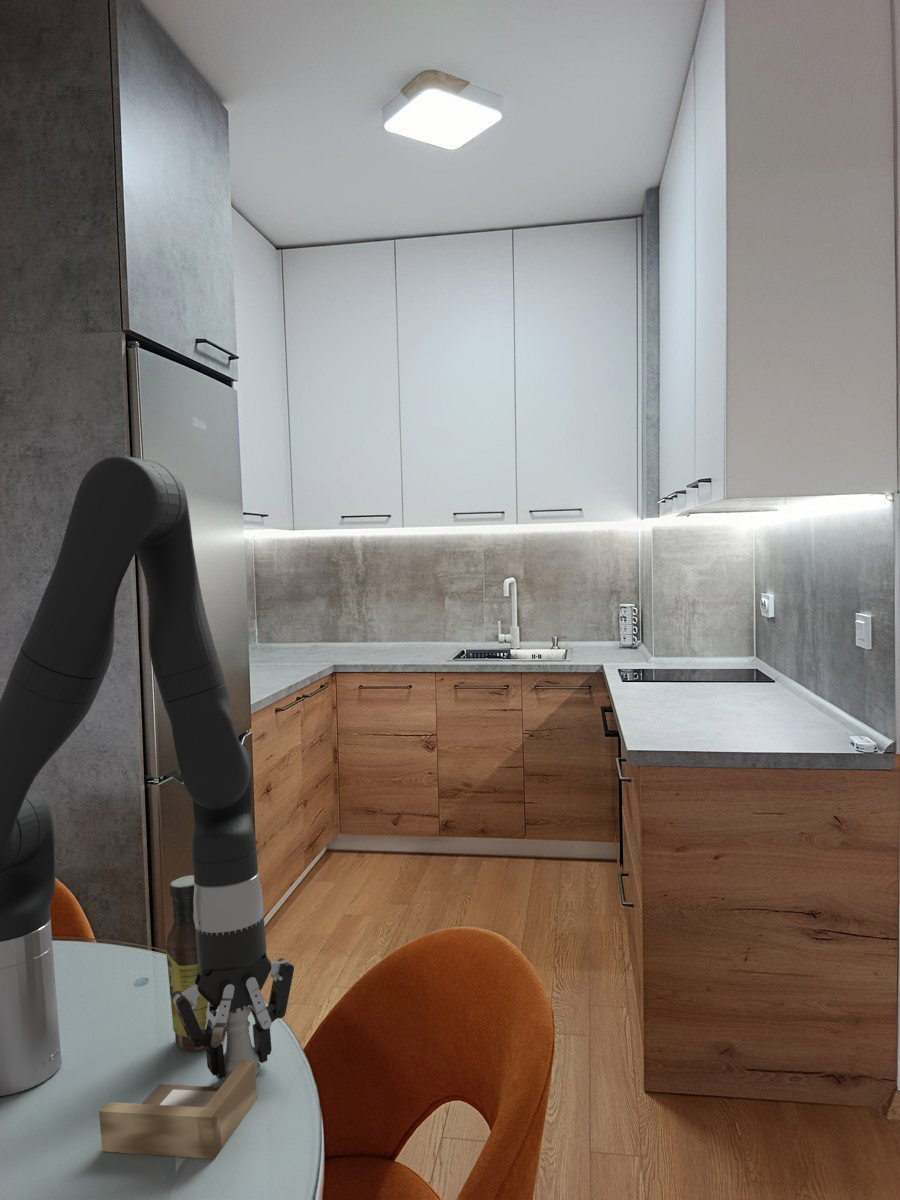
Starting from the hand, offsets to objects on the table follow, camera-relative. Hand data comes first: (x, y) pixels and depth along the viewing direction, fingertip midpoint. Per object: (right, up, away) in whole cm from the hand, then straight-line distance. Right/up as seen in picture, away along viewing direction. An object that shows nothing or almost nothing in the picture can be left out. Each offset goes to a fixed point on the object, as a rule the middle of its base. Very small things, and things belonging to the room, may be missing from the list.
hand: (240, 1066), depth 97 cm
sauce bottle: (-7, -1, +8) cm, 11 cm away
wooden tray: (-4, -1, -8) cm, 9 cm away
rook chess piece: (0, -1, 0) cm, 1 cm away
